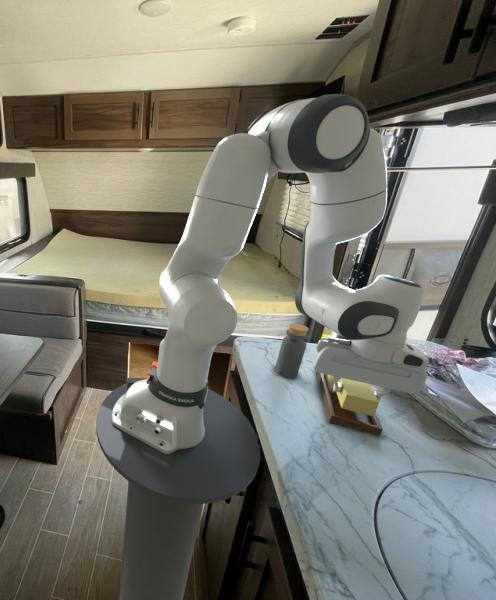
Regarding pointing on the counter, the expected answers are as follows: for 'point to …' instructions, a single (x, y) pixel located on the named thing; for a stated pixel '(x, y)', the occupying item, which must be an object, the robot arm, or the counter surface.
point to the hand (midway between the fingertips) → (354, 395)
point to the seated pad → (330, 383)
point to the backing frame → (347, 412)
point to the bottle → (292, 351)
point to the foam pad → (357, 397)
